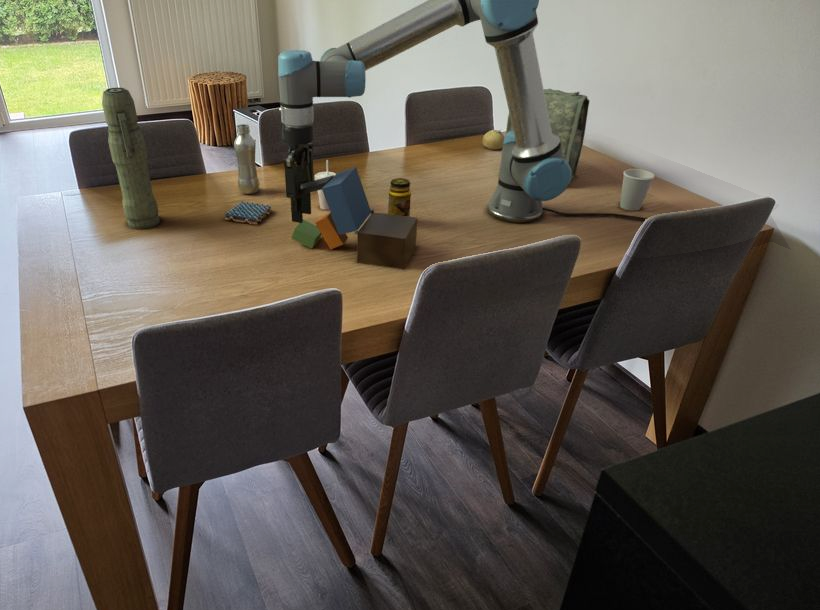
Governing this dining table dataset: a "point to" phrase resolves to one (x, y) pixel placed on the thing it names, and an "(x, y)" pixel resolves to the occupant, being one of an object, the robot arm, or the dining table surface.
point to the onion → (493, 139)
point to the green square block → (306, 234)
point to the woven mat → (248, 213)
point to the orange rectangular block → (330, 231)
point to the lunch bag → (566, 122)
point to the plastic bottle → (246, 160)
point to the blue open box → (343, 199)
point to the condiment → (399, 197)
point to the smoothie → (320, 192)
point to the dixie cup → (635, 188)
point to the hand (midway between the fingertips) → (301, 217)
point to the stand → (386, 240)
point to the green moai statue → (130, 158)
